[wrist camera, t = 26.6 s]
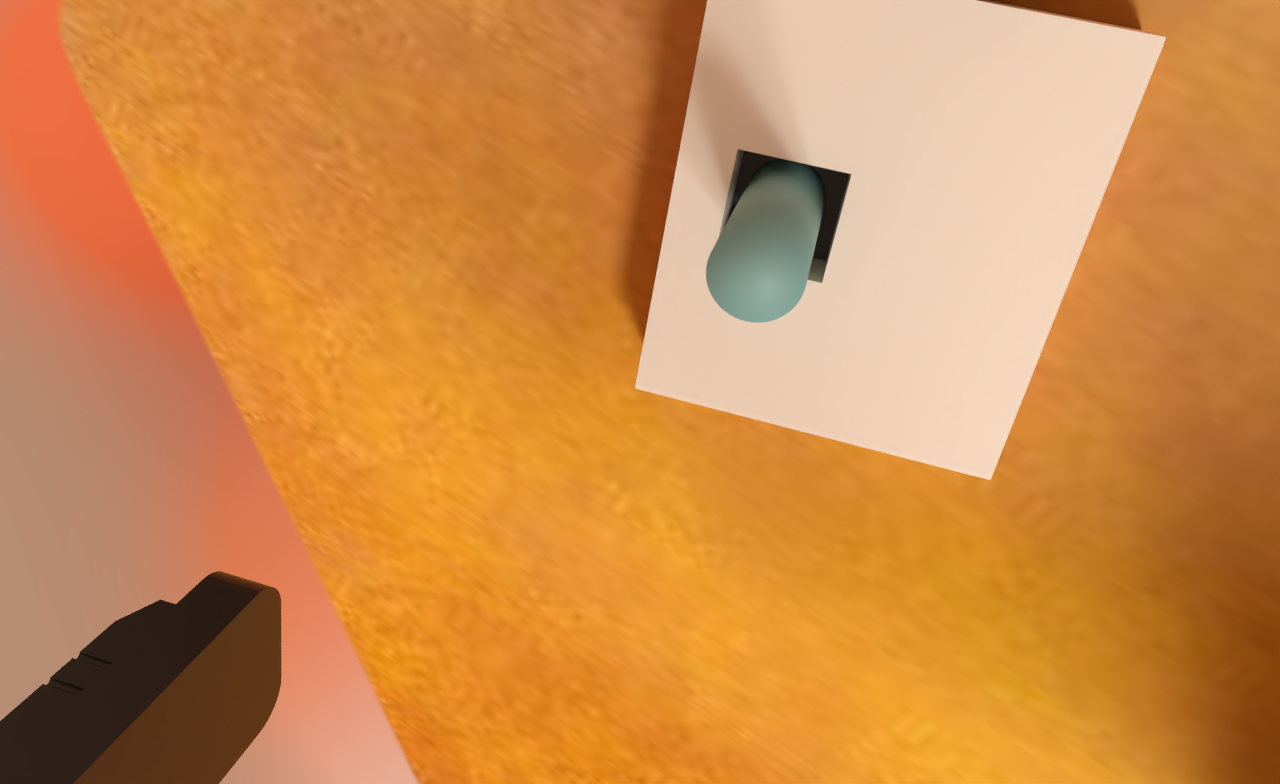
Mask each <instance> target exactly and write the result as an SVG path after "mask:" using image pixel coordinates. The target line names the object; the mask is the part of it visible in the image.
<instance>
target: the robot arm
mask: <svg viewBox="0 0 1280 784" xmlns="http://www.w3.org/2000/svg"><path fill="white" fill-rule="evenodd" d="M280 685H281V598H280V594H279V592H278V590H277V589H275V588H273V587H270V586H267V585H263V584H260V583H257V582H253V581H250V580H247V579H244V578H240V577H237V576H233V575H230V574H227V573H224V572H214V573H212V574H210V575H208V576H207V577H205V578H204V579H203V580H202V581H201V582H200V583H199V584H198V585H196V586H195V587H194V588H193V589H192V590H191V591H190V592H189V593H188V594H187V595H186V596H185V597H184V598H182V600H180V601H179V602H178V603H177V604H173V603H169V602H166V601H163V600H159V601H157V602H155V603H153V604H151V605H148V606H146V607H144V608H142V609H140V610H138V611H136V612H134V613H132V614H130V615H128V616H125V617H123V618H121V619H119V620H117V621H115V622H114V623H113V624H112V625H110V626H109V627H108V628H107V629H106V630H105V631H103V632H102V633H101V634H100V635H99V636H98V637H97V638H96V639H94V640H93V641H92V642H91V643H90V644H89V645H87V646H86V647H85V648H84V649H83V650H82V651H81V652H80V654H79V656H78V658H77V659H73V658H72V659H71V660H70V661H69V662H68V663H67V664H66V665H64V666H63V667H62V668H61V669H60V670H59V671H57V672H56V673H55V674H54V675H53V676H52V677H51V678H50V682H49V683H48V684H47V685H44V684H43V685H41V686H40V687H39V688H38V689H37V690H36V691H35V692H33V693H32V694H31V695H30V696H29V697H28V698H27V699H25V700H24V701H23V702H22V703H21V704H20V705H18V706H17V707H16V708H15V709H14V710H13V711H12V712H10V713H9V714H8V715H7V716H6V717H5V718H4V719H2V720H1V721H0V784H219V783H220V781H221V780H222V779H223V778H224V776H225V775H226V774H227V773H228V771H229V770H230V769H231V768H232V766H233V765H234V764H235V763H236V761H237V760H238V759H239V758H240V756H241V755H242V754H243V753H244V751H245V750H246V749H247V748H248V746H249V745H250V744H251V743H252V741H253V740H254V739H255V738H256V736H257V735H258V734H259V733H260V731H261V730H262V729H263V727H264V725H265V724H266V722H267V720H268V719H269V717H270V715H271V713H272V711H273V708H274V706H275V703H276V701H277V697H278V694H279V690H280Z"/></svg>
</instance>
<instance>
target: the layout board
mask: <svg viewBox="0 0 1280 784" xmlns="http://www.w3.org/2000/svg"><path fill="white" fill-rule="evenodd" d="M1165 39H1166V37H1164V36H1161V35H1157V34H1154V33H1150V32H1147V31H1143V30H1139V29H1134V28H1129V27H1123V26H1118V25H1113V24H1108V23H1103V22H1097V21H1092V20H1087V19H1082V18H1077V17H1072V16H1066V15H1061V14H1056V13H1051V12H1046V11H1041V10H1035V9H1030V8H1025V7H1020V6H1015V5H1010V4H1004V3H999V2H994V1H989V0H707V5H706V10H705V16H704V21H703V26H702V32H701V37H700V42H699V48H698V53H697V58H696V64H695V69H694V74H693V80H692V85H691V91H690V96H689V101H688V107H687V112H686V117H685V123H684V128H683V133H682V139H681V144H680V149H679V155H678V160H677V166H676V171H675V176H674V182H673V187H672V192H671V198H670V203H669V208H668V214H667V219H666V224H665V230H664V235H663V240H662V246H661V251H660V257H659V262H658V267H657V273H656V278H655V283H654V289H653V294H652V299H651V305H650V310H649V315H648V321H647V326H646V332H645V337H644V342H643V348H642V353H641V358H640V364H639V369H638V374H637V380H636V385H635V389H639V390H643V391H647V392H651V393H655V394H658V395H662V396H666V397H670V398H674V399H678V400H682V401H686V402H689V403H693V404H697V405H701V406H705V407H709V408H713V409H716V410H720V411H724V412H728V413H732V414H736V415H740V416H744V417H747V418H751V419H755V420H759V421H763V422H767V423H771V424H775V425H778V426H782V427H786V428H790V429H794V430H798V431H802V432H806V433H809V434H813V435H817V436H821V437H825V438H829V439H833V440H837V441H840V442H844V443H848V444H852V445H856V446H860V447H864V448H868V449H871V450H875V451H879V452H883V453H887V454H891V455H895V456H898V457H902V458H906V459H910V460H914V461H918V462H922V463H926V464H929V465H933V466H937V467H941V468H945V469H949V470H953V471H957V472H960V473H964V474H968V475H972V476H976V477H980V478H984V479H988V480H991V478H992V475H993V472H994V470H995V467H996V465H997V462H998V460H999V457H1000V455H1001V452H1002V450H1003V447H1004V445H1005V442H1006V440H1007V437H1008V435H1009V432H1010V430H1011V427H1012V425H1013V422H1014V420H1015V417H1016V415H1017V412H1018V410H1019V407H1020V405H1021V402H1022V399H1023V397H1024V394H1025V392H1026V389H1027V387H1028V384H1029V382H1030V379H1031V377H1032V374H1033V372H1034V369H1035V367H1036V364H1037V362H1038V359H1039V357H1040V354H1041V352H1042V349H1043V347H1044V344H1045V342H1046V339H1047V337H1048V334H1049V331H1050V329H1051V326H1052V324H1053V321H1054V319H1055V316H1056V314H1057V311H1058V309H1059V306H1060V304H1061V301H1062V299H1063V296H1064V294H1065V291H1066V289H1067V286H1068V284H1069V281H1070V279H1071V276H1072V274H1073V271H1074V269H1075V266H1076V264H1077V261H1078V258H1079V256H1080V253H1081V251H1082V248H1083V246H1084V243H1085V241H1086V238H1087V236H1088V233H1089V231H1090V228H1091V226H1092V223H1093V221H1094V218H1095V216H1096V213H1097V211H1098V208H1099V206H1100V203H1101V201H1102V198H1103V196H1104V193H1105V190H1106V188H1107V185H1108V183H1109V180H1110V178H1111V175H1112V173H1113V170H1114V168H1115V165H1116V163H1117V160H1118V158H1119V155H1120V153H1121V150H1122V148H1123V145H1124V143H1125V140H1126V138H1127V135H1128V133H1129V130H1130V128H1131V125H1132V123H1133V120H1134V117H1135V115H1136V112H1137V110H1138V107H1139V105H1140V102H1141V100H1142V97H1143V95H1144V92H1145V90H1146V87H1147V85H1148V82H1149V80H1150V77H1151V75H1152V72H1153V70H1154V67H1155V65H1156V62H1157V60H1158V57H1159V55H1160V52H1161V49H1162V47H1163V44H1164V42H1165ZM776 159H785V160H790V161H794V162H799V163H803V164H808V165H809V166H811V167H812V168H813V169H814V170H815V171H816V172H817V173H818V175H819V176H820V178H821V179H822V182H823V184H824V187H825V193H826V201H825V207H824V211H823V215H822V219H821V224H820V228H819V232H818V237H817V241H816V245H815V249H814V254H813V258H812V262H811V266H810V271H809V275H808V279H807V283H806V287H805V291H804V293H803V295H802V298H801V299H800V301H799V302H798V304H797V305H796V306H795V307H794V308H793V309H792V310H791V311H790V312H789V313H787V314H786V315H784V316H782V317H780V318H778V319H776V320H773V321H768V322H761V323H754V322H747V321H743V320H740V319H737V318H735V317H733V316H731V315H729V314H728V313H727V312H725V311H724V310H723V309H722V308H721V307H720V306H719V305H718V304H717V303H716V302H715V300H714V299H713V297H712V295H711V293H710V291H709V288H708V285H707V280H706V266H707V261H708V258H709V256H710V253H711V251H712V249H713V248H714V246H715V244H716V242H717V240H718V238H719V237H720V235H721V233H722V231H723V229H724V227H725V226H726V224H727V222H728V220H729V218H730V216H731V215H732V213H733V211H734V209H735V207H736V205H737V203H738V202H739V200H740V198H741V196H742V194H743V192H744V191H745V189H746V187H747V185H748V183H749V181H750V180H751V178H752V176H753V175H754V173H755V172H756V171H757V170H758V169H759V168H760V167H761V166H763V165H764V164H766V163H768V162H770V161H772V160H776Z"/></svg>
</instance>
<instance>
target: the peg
mask: <svg viewBox="0 0 1280 784" xmlns="http://www.w3.org/2000/svg"><path fill="white" fill-rule="evenodd" d="M825 201H826V193H825V187H824V184H823V182H822V179H821V178H820V176H819V175H818V173H817V172H816V171H815V170H814V169H813V168H812V167H811V166H809V165H808V164H803V163H799V162H794V161H790V160H785V159H776V160H772V161H770V162H768V163H766V164H764V165H763V166H761V167H760V168H759V169H758V170H757V171H756V172H755V173H754V175H753V176H752V178H751V180H750V181H749V183H748V185H747V187H746V189H745V191H744V192H743V194H742V196H741V198H740V200H739V202H738V203H737V205H736V207H735V209H734V211H733V213H732V215H731V216H730V218H729V220H728V222H727V224H726V226H725V227H724V229H723V231H722V233H721V235H720V237H719V238H718V240H717V242H716V244H715V246H714V248H713V249H712V251H711V253H710V256H709V258H708V261H707V266H706V280H707V285H708V288H709V291H710V293H711V295H712V297H713V299H714V300H715V302H716V303H717V304H718V305H719V306H720V307H721V308H722V309H723V310H724V311H725V312H727V313H728V314H729V315H731V316H733V317H735V318H737V319H740V320H743V321H747V322H754V323H761V322H768V321H773V320H776V319H778V318H780V317H782V316H784V315H786V314H787V313H789V312H790V311H791V310H792V309H793V308H794V307H795V306H796V305H797V304H798V302H799V301H800V299H801V298H802V295H803V293H804V291H805V287H806V283H807V279H808V275H809V271H810V266H811V262H812V258H813V254H814V249H815V245H816V241H817V237H818V232H819V228H820V224H821V219H822V215H823V211H824V207H825Z"/></svg>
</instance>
